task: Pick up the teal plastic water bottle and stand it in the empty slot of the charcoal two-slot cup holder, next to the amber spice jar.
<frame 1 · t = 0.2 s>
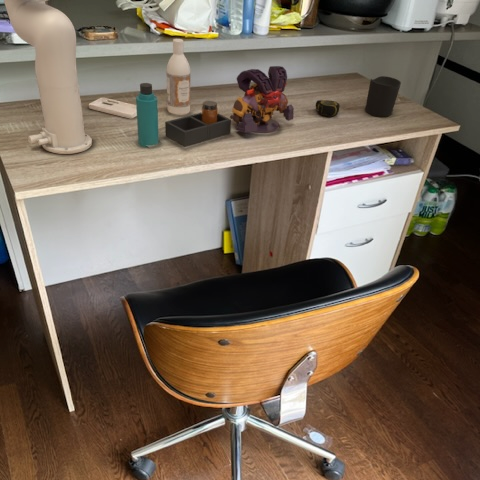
pen holder: (377, 113, 172), on the table
bath foam: (178, 112, 161), on the table
tape measure: (325, 114, 168), on the table
figurine: (258, 129, 155), on the table
phone case: (116, 110, 158), on the table
spice jar: (209, 131, 149), point 1 cm above the table, touching cup holder
water bottle: (148, 143, 142), on the table
cup holder: (198, 137, 148), on the table
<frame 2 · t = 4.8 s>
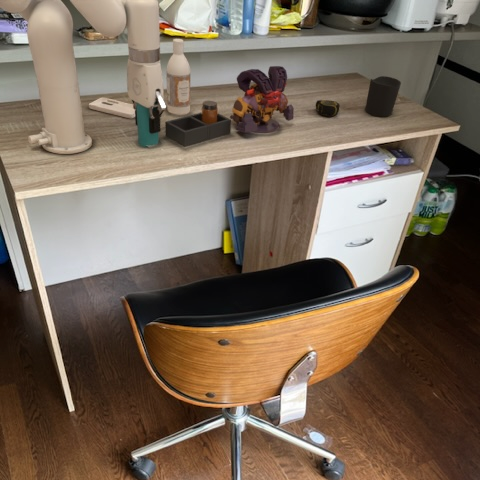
hand: (148, 127, 139), 4 cm above the table, tool pointing down, fingers closed on water bottle, 5 cm apart
water bottle: (148, 143, 142), on the table, touching gripper
everything else where it was.
when the fingers open (5 cm above the table, at t = 12.5 s): water bottle stays where it is, resting on cup holder.
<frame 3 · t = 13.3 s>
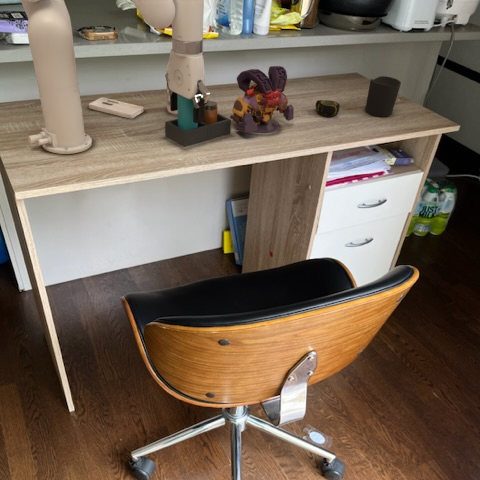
hand: (186, 115, 141), 7 cm above the table, tool pointing down, fingers open, 9 cm apart
water bottle: (187, 137, 145), point 1 cm above the table, touching cup holder
everything else where it was.
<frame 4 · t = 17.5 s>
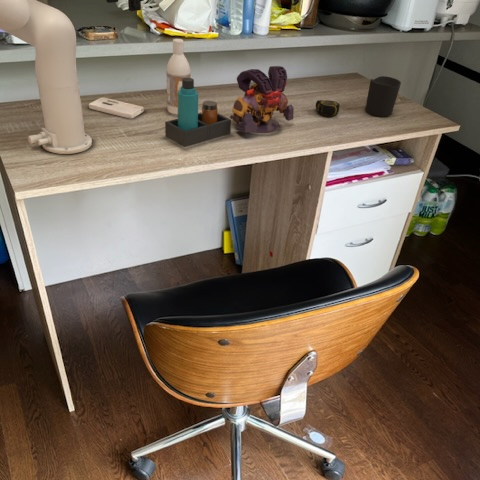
hand: (123, 6, 129), 30 cm above the table, tool pointing down, fingers open, 9 cm apart
nothing on the table moved.
at the end: water bottle 0.1 cm from the target spot in the cup holder, point 0.8 cm above the cup holder's base; water bottle tilted 0°; the gripper is holding nothing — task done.
